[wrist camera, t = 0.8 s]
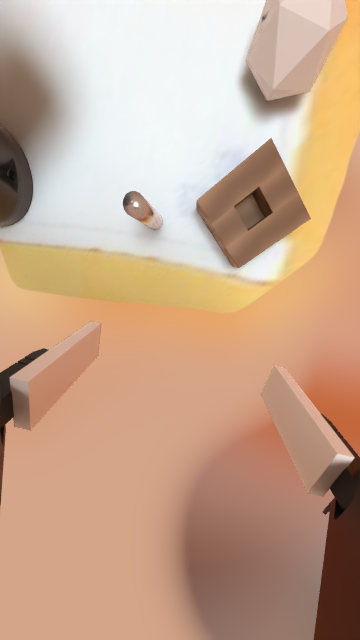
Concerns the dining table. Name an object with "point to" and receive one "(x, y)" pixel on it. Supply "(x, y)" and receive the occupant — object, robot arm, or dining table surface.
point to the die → (293, 44)
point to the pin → (141, 210)
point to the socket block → (253, 206)
